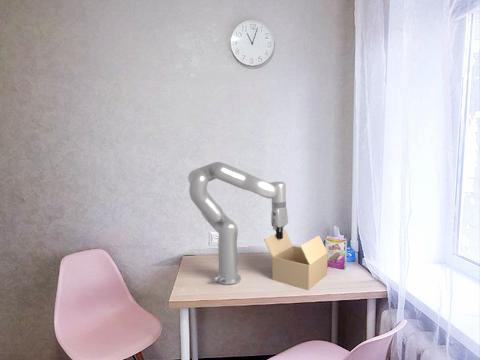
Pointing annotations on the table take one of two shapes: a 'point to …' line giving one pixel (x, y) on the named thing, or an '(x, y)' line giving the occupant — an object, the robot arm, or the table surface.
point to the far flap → (278, 244)
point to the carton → (298, 268)
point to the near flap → (313, 249)
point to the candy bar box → (336, 252)
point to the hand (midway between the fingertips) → (279, 238)
